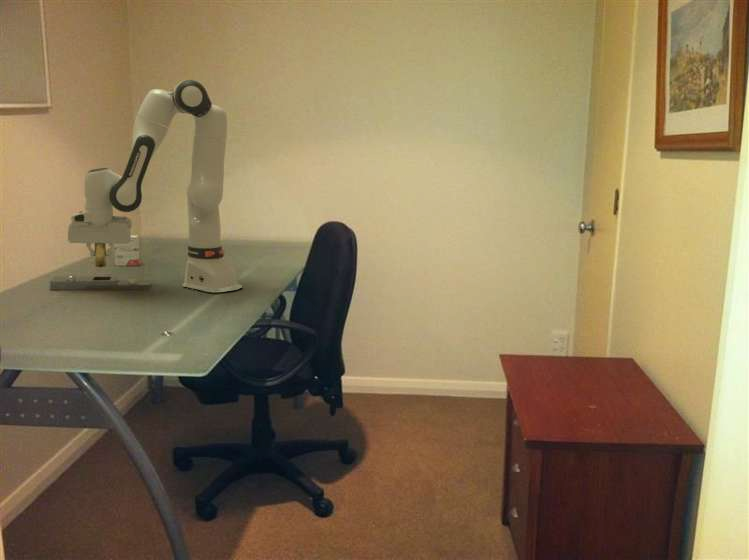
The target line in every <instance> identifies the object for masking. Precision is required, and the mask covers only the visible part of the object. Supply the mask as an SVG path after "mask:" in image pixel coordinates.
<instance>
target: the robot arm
mask: <svg viewBox="0 0 749 560" xmlns="http://www.w3.org/2000/svg"><path fill="white" fill-rule="evenodd" d="M137 111H138V112H137V113H136V117H135V120H134V123H133V127H132V133H131V141H132V142H131V143H132V144H131V151H130V155H129V158H128V161H127V164H126V166H125V169H124V172H123V174H122V175H120V174H118V173H115V172H114V171H113V170H111V169H110V168H109V167H100V168H99V167H98V168H94V169H90V170H89V171H88V172H86V174H85V177H84V197H85V204H84V210H81V211H78V212H75V213H74V214H72V215H71V216H70V220H71V222H70V224H69V225H68V229H67V241H68V242H69V243H70V244H77V243H78V244H85V246H86V248H87V249H88V251H89V256H90V257H95V249H92V244H95V243H106V244H108V247H109V248H108V250H107V249H106V257H111V256H112V255H111V251H112V249H113V248H114V243H121V244H128V243H129V242H130V241H131V236H132V234H131V229H132V219H130V218H128V217H127V216H118V215H117V216H115V215H114V209H116V210H117V211H119V212H123V213H130V212H132V211H135V210H136V209H138V208H139V207H140V205H141V203H142V201H143V194H142V183H143V180H144V178H145V175H146V172H147V170H148V167H149V163H150V161H151V160H152V158H153V156H154V154H155V153H156V152H157V150H158V149H159V147H160V146H161V145H162V144H163V141H164V140H165V138H166V136H167V134H168V133H169V129H170V125H171V123H172V121H173V119H174V117H175V116H176V114H178V113H181V114H188V115H191V116H192V117H193V119H194V135H193V143H192V155H191V172H190V173H191V177H190V180H189V182H188V184H187V186H186V196H187V197H186V199H187V202H186V203H187V216H188V217H187V218H188V245H187V250H186V251H187V256H188V259H187V261H186V264H185V272H184V282H183V283H182V285H181V286H183V287H189V288H197V289H204V288H205V289H207V288H212V289H217V288H225V287H230V286H234V285H236V283H237V275H236V271H235V268H232V266H231V265H230V263H229V262H228V261H227V260H226V259H225V257H224V256H225V255H224V254H225V253H224V252H225V251H226V250H224V249H223V246H222V244H221V218H220V207H219V206H220V204H221V202H222V199H223V193H224V175H225V171H224V170H225V168H224V167H225V155H226V145H227V137H228V118H227V112H226V111H225V109H223V108H222V107H221V106H219V105H217V104H213V103H212V101H211V99H210V97H209V94H208V91H207V90H206V88H205V86H204V85H203V84H201V82H199V81H197V80H193V79H185V80H183V81H181V82H179V83H177V85H176V86H175V87H174V88H172V89H171V90H170V91H168V90H164V89H160V88H154V89H151V90H149V92H148V93H146V96H145V98H144V99H143V100H142V103H141V104H140V107H139V109H138V110H137ZM113 207H114V208H113ZM183 287H182V288H183Z"/></svg>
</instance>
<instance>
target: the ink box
mask: <svg viewBox="0 0 749 560" xmlns="http://www.w3.org/2000/svg"><path fill="white" fill-rule="evenodd" d="M139 244H140V243H139V235H131V241H130V242H129V243H128V244H121V243H114V246H113V248H114V265H115V266H116V267H117V266H118V267H119V266H124V267H127V266H128V267H137V266H139V265H140V249H139V246H140V245H139Z"/></svg>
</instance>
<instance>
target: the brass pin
mask: <svg viewBox="0 0 749 560" xmlns="http://www.w3.org/2000/svg"><path fill="white" fill-rule="evenodd" d="M106 244H107V243H94V250H95V256H94V267H96V268H105V267H107V256H106V250H107V245H106Z"/></svg>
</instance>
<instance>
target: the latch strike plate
mask: <svg viewBox="0 0 749 560" xmlns="http://www.w3.org/2000/svg"><path fill="white" fill-rule="evenodd" d="M151 285H152V280H151V279H137V278H128V279H119V275H80V276H79V275H78V276H77V275H75V274H68V275H65V276H64V275H63V276H59V275H58V276H53V277H52V279H51V280H50V281H49V288H50V289H49V290H50V291H87V290H88V291H93V290H94V291H95V290H98V291H99V290H103V291H105V290H112V291H113V290H150V289H151Z"/></svg>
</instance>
